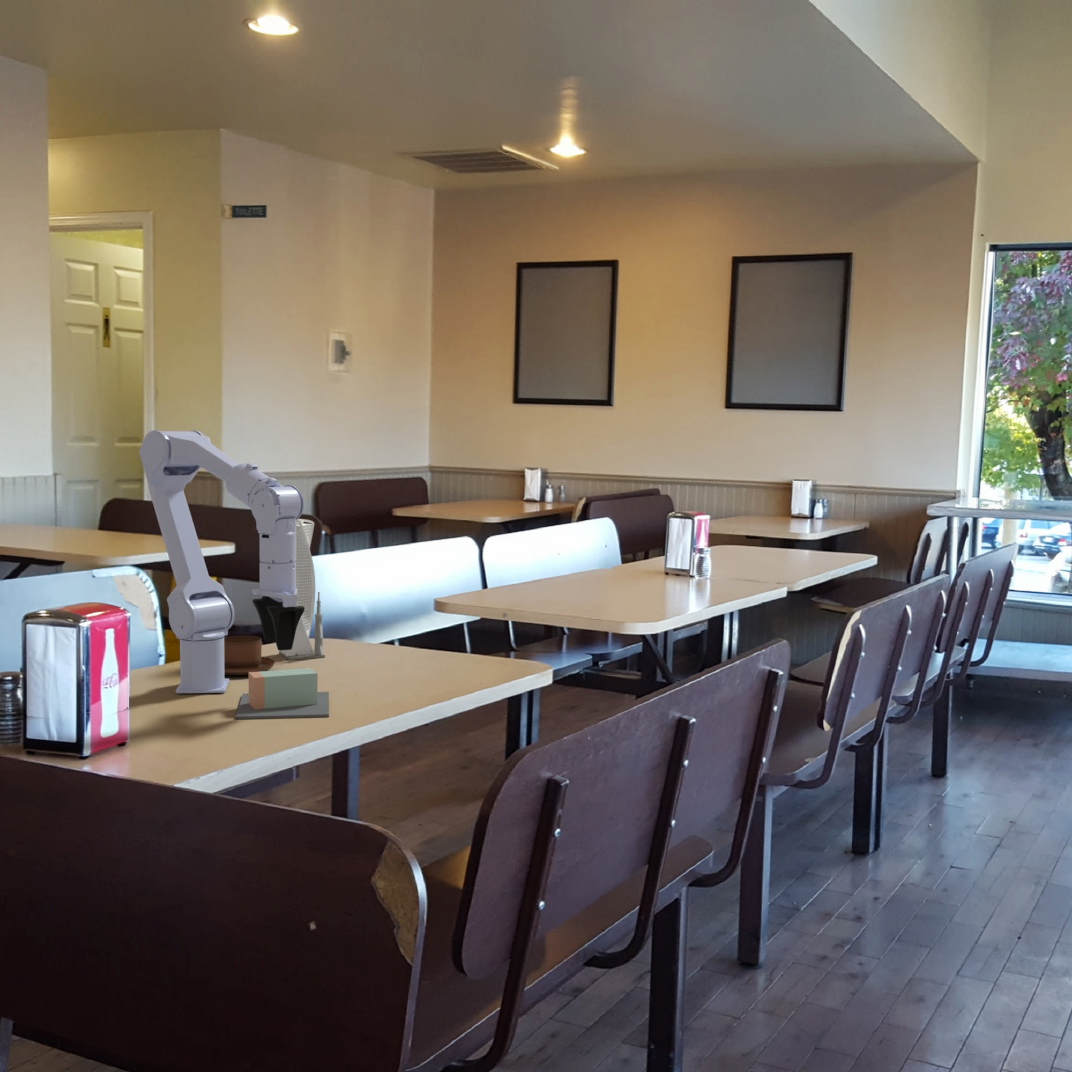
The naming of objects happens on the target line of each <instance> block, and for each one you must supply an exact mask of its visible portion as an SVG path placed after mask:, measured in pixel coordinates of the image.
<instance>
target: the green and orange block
mask: <svg viewBox="0 0 1072 1072" xmlns="http://www.w3.org/2000/svg"><path fill="white" fill-rule="evenodd" d="M248 673H249V675H248V693H249V704H250V705H251V706H252V707H253V708H254V709H264V708H277V707H289V706H301V705H313V704H317V692H318V672H316V671H315V670H314V669H312V668H311V667H306V668H290V669H289V668H288V669H279V670H278V669H277V670H275V669H274V670H267V671H260V672H248Z"/></svg>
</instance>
